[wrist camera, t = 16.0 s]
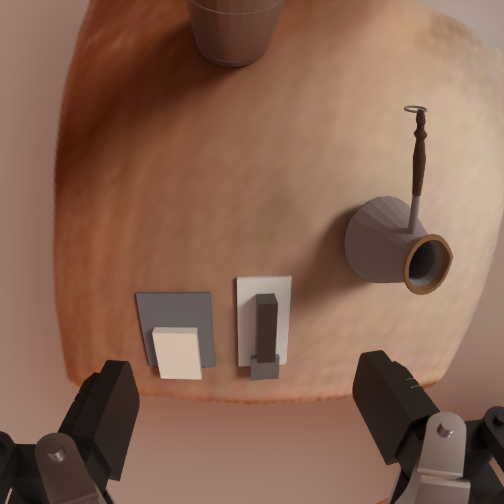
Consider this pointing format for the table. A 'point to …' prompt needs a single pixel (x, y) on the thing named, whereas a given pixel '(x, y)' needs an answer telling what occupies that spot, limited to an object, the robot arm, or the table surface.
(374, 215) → the coffee pot
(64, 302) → the table surface
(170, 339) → the tile
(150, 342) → the mat
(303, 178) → the table surface
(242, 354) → the rest pad
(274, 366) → the grey post on base
